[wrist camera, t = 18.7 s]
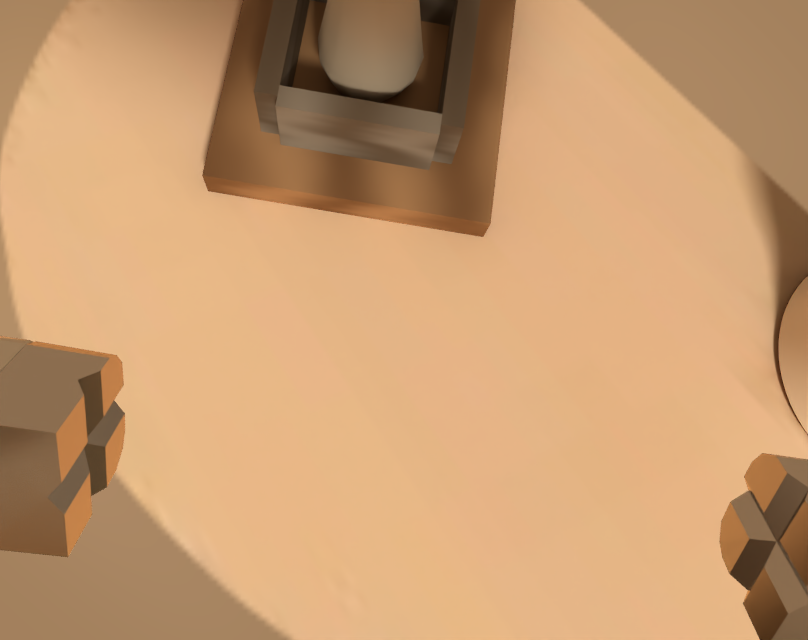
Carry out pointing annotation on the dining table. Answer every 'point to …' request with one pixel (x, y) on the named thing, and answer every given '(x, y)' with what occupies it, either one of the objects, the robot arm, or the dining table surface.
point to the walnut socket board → (365, 119)
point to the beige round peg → (371, 46)
